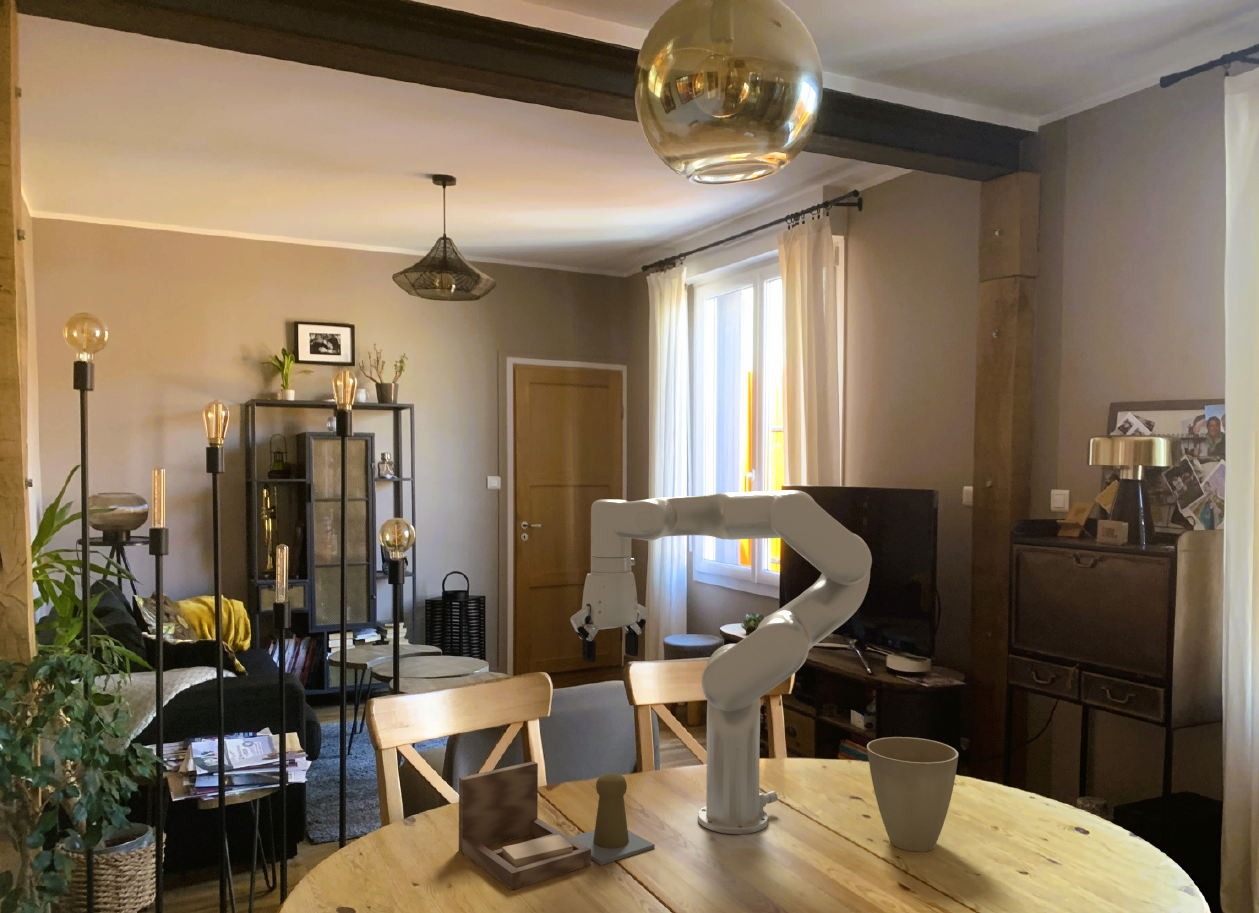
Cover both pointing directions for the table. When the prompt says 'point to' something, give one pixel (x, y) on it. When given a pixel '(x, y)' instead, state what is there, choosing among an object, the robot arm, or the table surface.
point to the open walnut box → (509, 825)
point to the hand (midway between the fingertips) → (610, 658)
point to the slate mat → (610, 855)
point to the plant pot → (912, 788)
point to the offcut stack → (535, 850)
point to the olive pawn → (611, 812)
